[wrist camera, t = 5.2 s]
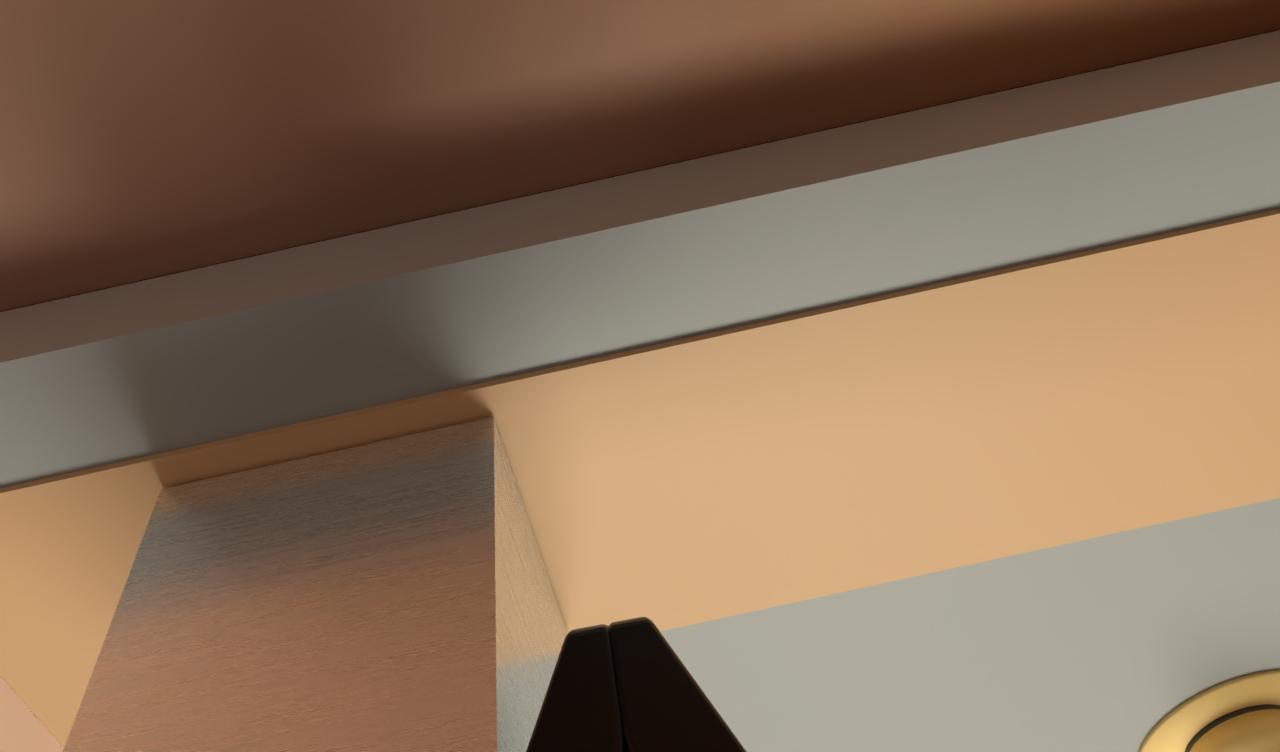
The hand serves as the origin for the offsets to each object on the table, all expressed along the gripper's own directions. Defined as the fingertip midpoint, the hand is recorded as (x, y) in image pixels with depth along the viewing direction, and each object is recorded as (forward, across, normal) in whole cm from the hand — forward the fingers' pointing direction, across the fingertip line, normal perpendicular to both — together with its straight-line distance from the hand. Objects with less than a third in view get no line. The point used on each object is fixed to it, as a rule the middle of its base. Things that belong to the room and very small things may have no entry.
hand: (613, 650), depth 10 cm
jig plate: (+4, -3, +5) cm, 7 cm away
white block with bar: (+3, +3, +5) cm, 7 cm away
